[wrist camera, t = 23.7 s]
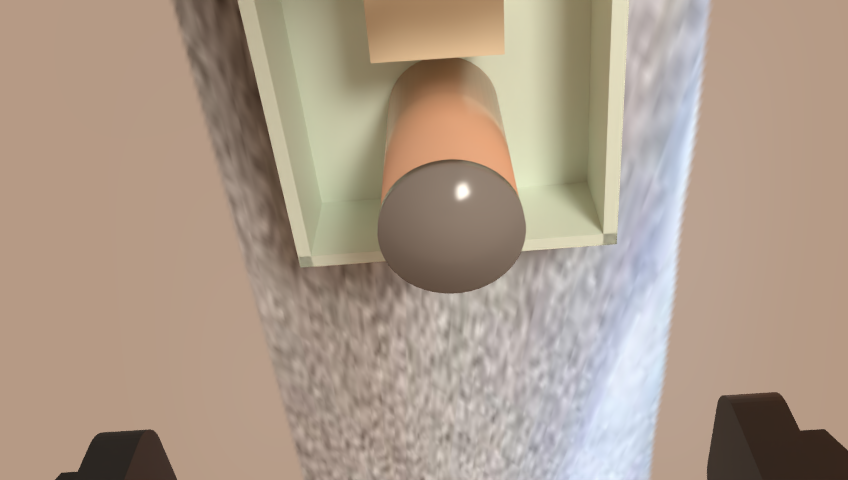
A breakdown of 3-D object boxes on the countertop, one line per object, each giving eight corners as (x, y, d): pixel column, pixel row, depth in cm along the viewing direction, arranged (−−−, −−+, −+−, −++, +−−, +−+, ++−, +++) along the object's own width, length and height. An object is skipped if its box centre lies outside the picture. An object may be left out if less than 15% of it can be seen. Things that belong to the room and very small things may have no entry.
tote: (233, -170, 30) (202, -146, 26) (609, -212, 29) (638, -193, 25) (313, 207, 40) (300, 267, 36) (597, 185, 39) (616, 243, 35)
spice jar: (401, 42, 35) (395, 153, 26) (513, 69, 35) (546, 185, 26) (376, 146, 37) (363, 278, 28) (481, 169, 38) (501, 304, 29)
